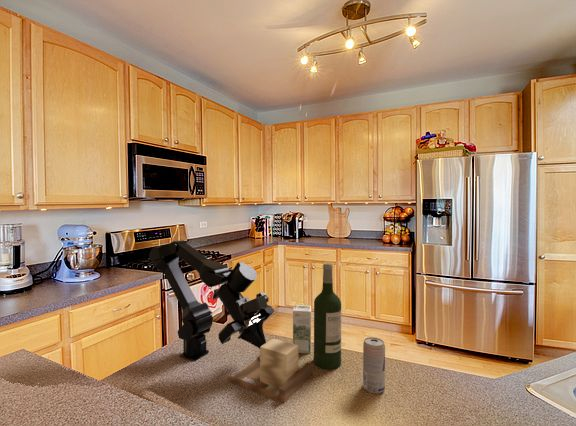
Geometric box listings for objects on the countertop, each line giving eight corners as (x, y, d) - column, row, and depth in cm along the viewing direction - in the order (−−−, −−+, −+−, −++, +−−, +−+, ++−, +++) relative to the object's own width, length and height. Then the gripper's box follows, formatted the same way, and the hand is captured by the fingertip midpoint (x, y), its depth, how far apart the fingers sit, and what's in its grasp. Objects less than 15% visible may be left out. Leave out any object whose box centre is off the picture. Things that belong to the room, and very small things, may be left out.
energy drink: (385, 384, 78) (385, 338, 78) (384, 396, 73) (384, 347, 73) (364, 380, 80) (364, 335, 80) (362, 391, 75) (362, 344, 75)
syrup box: (311, 348, 99) (311, 304, 99) (310, 357, 93) (311, 310, 93) (293, 347, 99) (294, 304, 99) (292, 356, 93) (292, 310, 93)
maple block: (259, 381, 77) (260, 346, 77) (272, 370, 83) (273, 338, 82) (286, 391, 73) (286, 354, 73) (298, 379, 78) (298, 345, 78)
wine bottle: (335, 376, 82) (335, 267, 82) (309, 369, 86) (309, 264, 86) (344, 364, 89) (345, 263, 89) (320, 357, 93) (320, 260, 92)
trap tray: (227, 384, 78) (227, 369, 78) (259, 361, 90) (259, 348, 90) (284, 407, 69) (284, 390, 69) (311, 378, 81) (311, 364, 81)
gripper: (226, 292, 75) (262, 346, 69) (269, 278, 91) (301, 321, 85) (204, 318, 79) (236, 371, 73) (248, 300, 95) (278, 342, 89)
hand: (265, 349), depth 80 cm, fingers closed, pressing on maple block
